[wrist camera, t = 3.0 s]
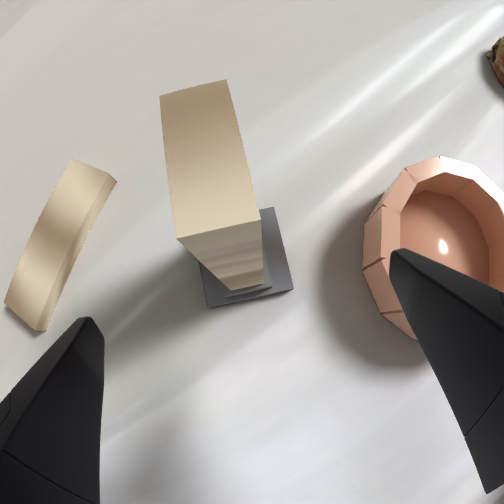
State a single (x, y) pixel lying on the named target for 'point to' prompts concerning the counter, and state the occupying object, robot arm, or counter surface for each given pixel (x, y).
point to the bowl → (435, 228)
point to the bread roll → (498, 59)
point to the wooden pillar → (219, 198)
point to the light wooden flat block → (57, 242)
